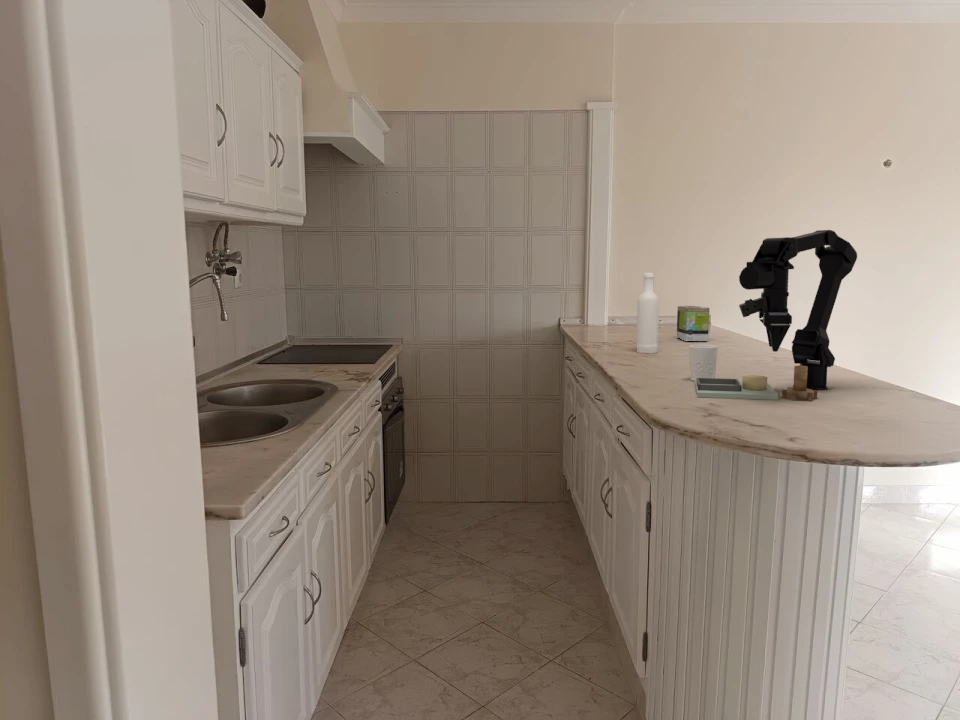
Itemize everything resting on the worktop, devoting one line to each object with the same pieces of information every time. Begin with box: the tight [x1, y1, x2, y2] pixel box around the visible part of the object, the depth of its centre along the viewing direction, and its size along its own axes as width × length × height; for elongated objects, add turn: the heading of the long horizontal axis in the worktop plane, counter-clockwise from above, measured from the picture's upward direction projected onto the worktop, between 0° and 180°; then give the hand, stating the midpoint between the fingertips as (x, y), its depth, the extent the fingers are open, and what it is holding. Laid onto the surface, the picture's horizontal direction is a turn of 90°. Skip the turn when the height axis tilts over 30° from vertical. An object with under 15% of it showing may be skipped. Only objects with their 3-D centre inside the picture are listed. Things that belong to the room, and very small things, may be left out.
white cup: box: [688, 344, 719, 382], centre depth 199 cm, size 8×8×10 cm
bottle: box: [636, 272, 660, 354], centre depth 259 cm, size 8×8×30 cm
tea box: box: [676, 305, 710, 342], centre depth 297 cm, size 15×10×15 cm
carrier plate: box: [694, 374, 779, 401], centre depth 180 cm, size 19×17×4 cm
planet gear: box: [781, 365, 819, 402], centre depth 171 cm, size 8×7×8 cm
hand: (773, 349), depth 176 cm, fingers open, 9 cm apart
